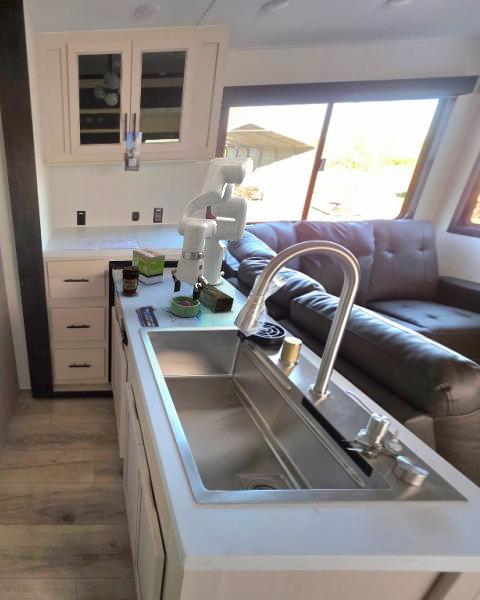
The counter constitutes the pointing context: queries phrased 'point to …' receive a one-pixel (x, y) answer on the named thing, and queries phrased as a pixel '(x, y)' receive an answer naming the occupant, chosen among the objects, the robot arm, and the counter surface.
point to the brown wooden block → (215, 299)
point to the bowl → (184, 310)
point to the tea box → (149, 265)
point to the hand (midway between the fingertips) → (186, 295)
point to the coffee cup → (130, 280)
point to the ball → (185, 303)
